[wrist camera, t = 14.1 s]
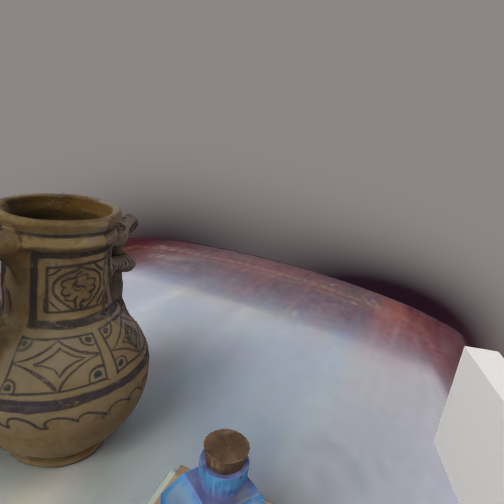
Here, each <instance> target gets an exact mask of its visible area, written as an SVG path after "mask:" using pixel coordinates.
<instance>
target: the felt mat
mask: <svg viewBox="0 0 504 504" xmlns="http://www.w3.org/2000/svg"><path fill="white" fill-rule="evenodd" d="M175 473H176V472H174V471H172V470H171V471H170V472H169V473H168V475H167V476H166V478H165V479H164V480H163V482H162V483H161V484H160V486H159V487H158V489H157V490H156V491H155V493H154V494H153V495H152V497H151V498H150V500H149V501H148V502H147V504H154V503H155V501H156V500H157V498H158V497H159V495H160V494H161V493H162V491H163V490H164V488H165V487H166V486H167V484H168V483H169V481H170V480H171V479H172V477H173V476H174V474H175Z"/></svg>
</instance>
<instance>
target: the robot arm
mask: <svg viewBox="0 0 504 504" xmlns="http://www.w3.org/2000/svg"><path fill="white" fill-rule="evenodd" d="M433 442H434V445H435V447H436V449H437V452H438V454H439V457H440V459H441V462H442V464H443V466H444V469H445V471H446V474H447V476H448V479H449V481H450V483H451V486H452V488H453V491H454V493H455V496H456V498H457V500H458V503H459V504H504V358H503V357H502V356H501V355H500V353H499V352H497V351H491V350H485V349H479V348H472V347H466V346H465V347H464V350H463V353H462V356H461V359H460V362H459V365H458V368H457V371H456V374H455V377H454V380H453V383H452V386H451V389H450V392H449V395H448V398H447V401H446V405H445V408H444V411H443V414H442V417H441V420H440V423H439V426H438V429H437V432H436V435H435V438H434V441H433Z"/></svg>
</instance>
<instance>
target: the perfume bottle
mask: <svg viewBox="0 0 504 504" xmlns="http://www.w3.org/2000/svg"><path fill="white" fill-rule="evenodd" d="M249 450H250V447H249V442H248V441H247V439H246V438H245V437H244V436H243V435H242V434H240V433H239V432H237V431H234V430H230V429H220V430H216V431H214V432H212V433H210V434H209V435H208V436H207V437H206V439H205V441H204V450H203V451H202V453H201V455H200V462H199V467H197V468H194V469H192V470H189V471H187V472H184V473H183V474H182V475H181V476H180V477H178V478H177V479H176V480H175V481H174V482H173V483H172V484H171V485H170V486H168V487H167V488H166V489H165V490H164V491H163V492H162V493H161V498H160V504H266V503H265V502H264V500H263V498H262V496H261V494H260V492H259V491H258V490H257V488H256V487H255V486H254V484H253V483H252V482H251V480H250V479H249V478H248V476H247V475H248V469H249V457H248V453H249Z"/></svg>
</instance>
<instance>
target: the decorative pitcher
mask: <svg viewBox="0 0 504 504" xmlns="http://www.w3.org/2000/svg"><path fill="white" fill-rule="evenodd" d="M137 226H138V220H137V219H136V217H134V216H133V215H131V214H128V215H125V216H123V217H122V212H121V209H120V208H119V207H118V206H117V205H115V204H113V203H111V202H108V201H105V200H101V199H98V198H93V197H88V196H82V195H75V194H66V193H33V194H21V195H13V196H9V197H4V198H1V199H0V261H1V288H2V296H1V299H0V447H1V448H3V449H5V450H7V451H9V452H10V453H11V455H12V456H13V457H14V458H16V459H17V460H19V461H20V462H22V463H25V464H28V465H32V466H38V467H61V466H66V465H69V464H73V463H75V462H78V461H80V460H82V459H84V458H85V457H87V456H89V455H90V454H91V453H93V452H94V451H95V450H96V449H97V448H98V447H99V446H100V445H101V443H102V442H103V440H104V439H105V438H106V437H108V436H109V435H110V434H112V433H113V432H114V431H115V430H116V429H117V428H118V427H119V426H120V425H121V424H122V423H123V422H124V421H125V420H126V419H127V417H128V416H129V415H130V414H131V412H132V411H133V409H134V408H135V406H136V404H137V403H138V401H139V399H140V397H141V395H142V392H143V390H144V387H145V384H146V380H147V375H148V365H149V351H148V345H147V341H146V338H145V336H144V334H143V333H142V330H141V328H140V327H139V325H138V324H137V322H136V321H135V320H134V319H133V318H132V317H131V316H130V314H129V313H128V311H127V309H126V306H125V303H124V301H123V299H122V289H123V281H122V272H128V271H131V270H132V269H133V268H134V267H135V265H136V262H135V260H134V258H133V257H132V256H131V255H129V254H127V253H124V252H123V246H124V244H125V243H126V241H127V240H128V235H129V234H130V233H131V232H132V231H134V230H135V229H136V227H137Z"/></svg>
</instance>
